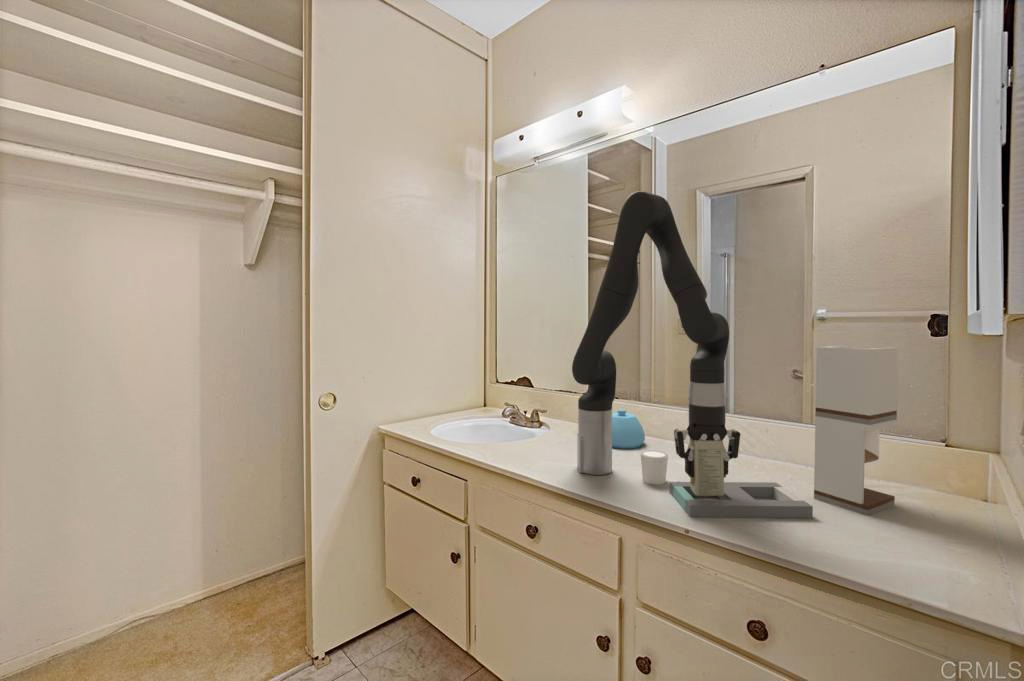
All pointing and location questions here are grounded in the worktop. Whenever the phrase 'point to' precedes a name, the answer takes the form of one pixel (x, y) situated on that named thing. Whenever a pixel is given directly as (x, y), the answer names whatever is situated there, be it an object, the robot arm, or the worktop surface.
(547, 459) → the worktop surface
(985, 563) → the worktop surface
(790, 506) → the slot holder
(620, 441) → the sugar bowl
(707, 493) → the skincare box
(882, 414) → the coffee maker
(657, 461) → the white tapered cup
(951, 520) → the worktop surface
